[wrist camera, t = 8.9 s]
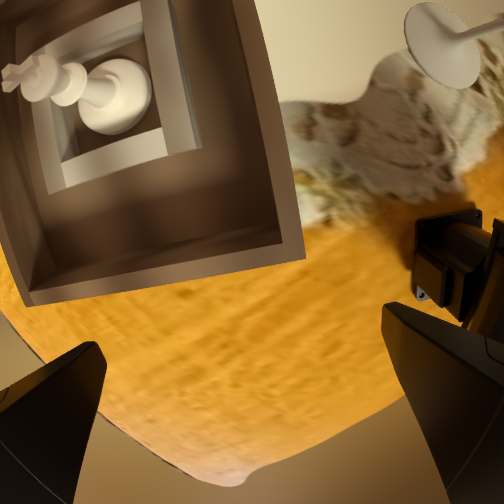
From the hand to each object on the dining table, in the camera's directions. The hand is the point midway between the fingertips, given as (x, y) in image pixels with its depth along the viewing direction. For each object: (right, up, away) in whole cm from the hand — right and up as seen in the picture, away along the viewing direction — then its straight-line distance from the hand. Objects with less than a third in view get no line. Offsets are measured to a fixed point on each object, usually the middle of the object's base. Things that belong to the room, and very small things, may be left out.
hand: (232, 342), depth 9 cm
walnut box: (-8, +12, +8) cm, 17 cm away
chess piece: (-8, +12, +7) cm, 16 cm away
